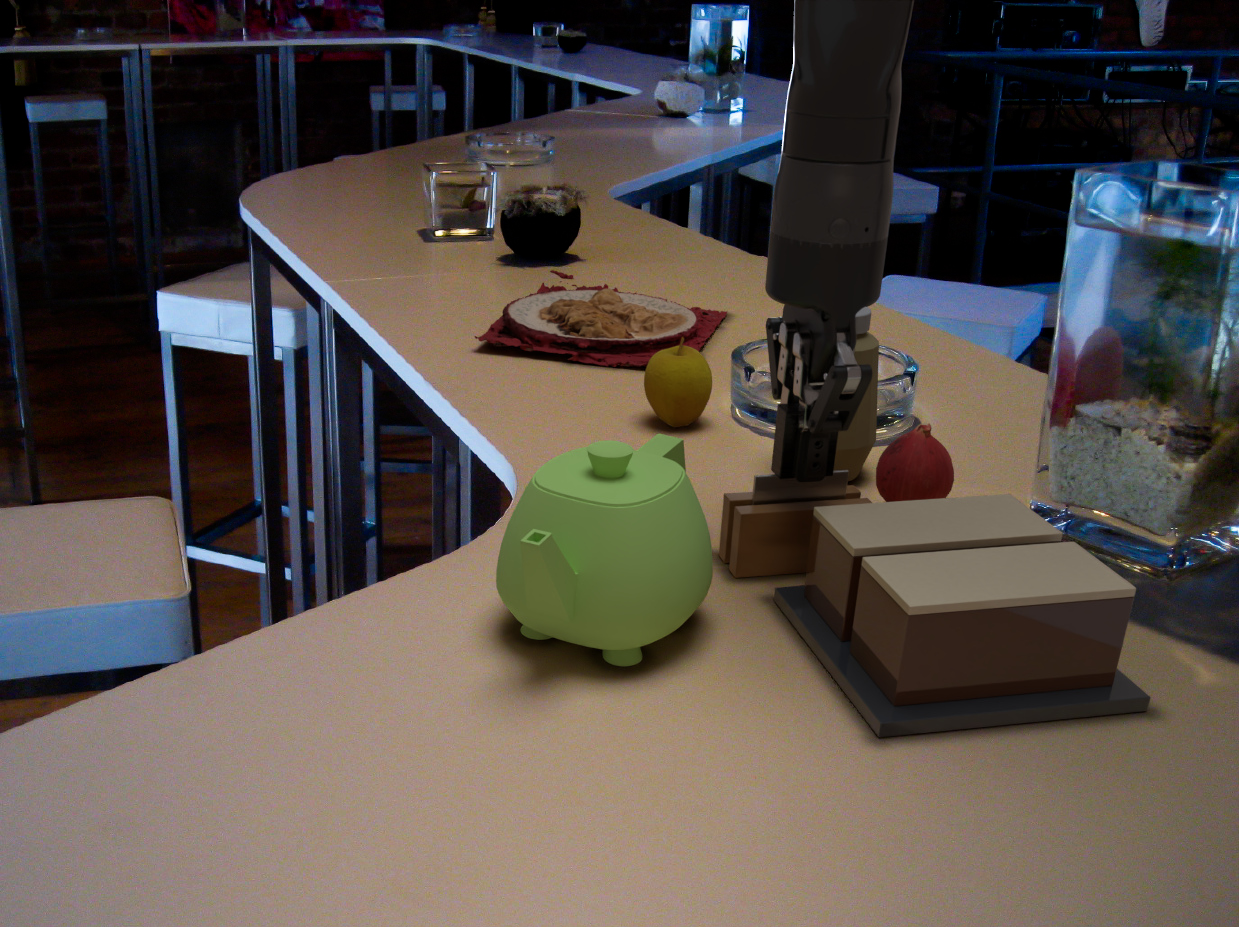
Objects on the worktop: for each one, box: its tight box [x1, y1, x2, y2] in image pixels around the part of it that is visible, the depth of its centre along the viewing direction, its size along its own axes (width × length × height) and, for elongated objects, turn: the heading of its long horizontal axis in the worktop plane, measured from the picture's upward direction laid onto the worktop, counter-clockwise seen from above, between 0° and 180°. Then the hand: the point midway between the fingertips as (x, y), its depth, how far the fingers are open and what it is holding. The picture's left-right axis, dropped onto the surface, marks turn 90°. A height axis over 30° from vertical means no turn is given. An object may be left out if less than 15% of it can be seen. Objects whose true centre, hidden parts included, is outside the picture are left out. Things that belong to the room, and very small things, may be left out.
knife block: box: [718, 484, 873, 579], centre depth 92 cm, size 10×4×5 cm, turn 100°
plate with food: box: [474, 269, 728, 368], centre depth 146 cm, size 24×26×4 cm
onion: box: [875, 422, 955, 502], centre depth 98 cm, size 6×6×8 cm
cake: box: [773, 493, 1151, 738], centre depth 79 cm, size 17×17×8 cm
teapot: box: [495, 433, 714, 667], centre depth 81 cm, size 20×13×13 cm
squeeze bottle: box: [834, 306, 880, 482], centre depth 105 cm, size 8×8×18 cm
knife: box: [752, 402, 849, 505], centre depth 90 cm, size 7×2×12 cm, turn 100°
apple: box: [643, 337, 713, 428], centre depth 118 cm, size 6×6×8 cm
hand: (801, 472), depth 90 cm, fingers closed on knife, 2 cm apart
